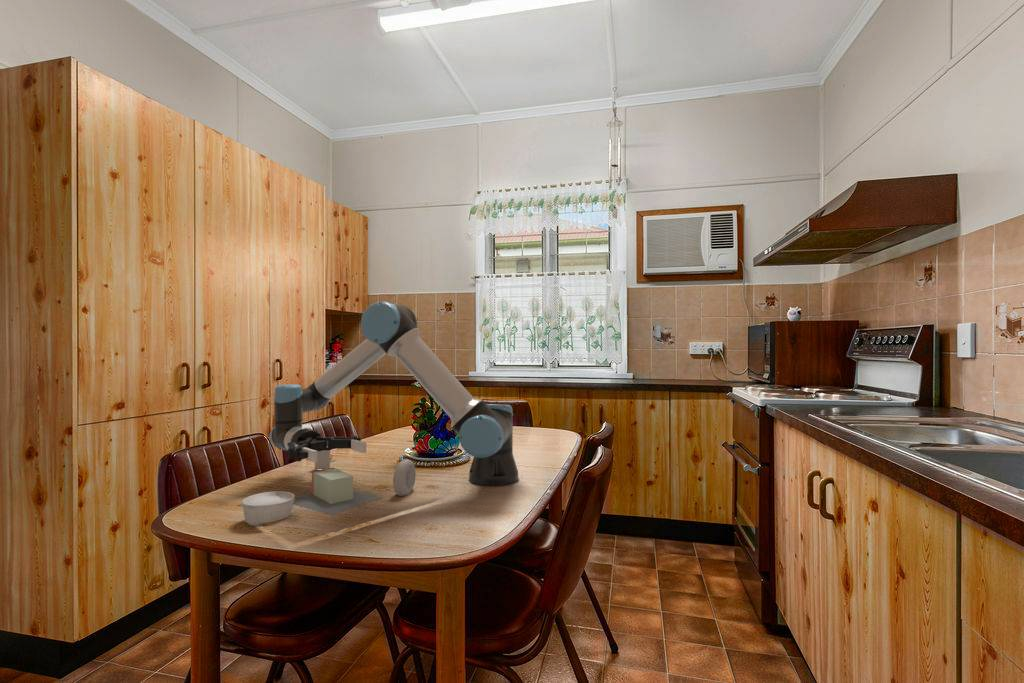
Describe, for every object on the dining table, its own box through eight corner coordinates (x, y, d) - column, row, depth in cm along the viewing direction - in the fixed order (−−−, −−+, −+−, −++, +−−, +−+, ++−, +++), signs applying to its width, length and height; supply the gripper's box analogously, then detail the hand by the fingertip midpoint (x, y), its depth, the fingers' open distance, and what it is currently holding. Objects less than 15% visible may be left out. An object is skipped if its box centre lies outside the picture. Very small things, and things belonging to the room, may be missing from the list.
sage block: (330, 504, 125) (311, 493, 134) (352, 498, 129) (333, 489, 138) (330, 480, 125) (311, 471, 134) (353, 475, 129) (333, 467, 138)
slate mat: (382, 500, 131) (382, 497, 131) (332, 519, 117) (332, 514, 117) (333, 488, 142) (333, 485, 142) (281, 504, 128) (281, 500, 128)
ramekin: (305, 516, 120) (305, 494, 120) (265, 532, 110) (265, 508, 110) (271, 509, 124) (272, 488, 124) (230, 524, 114) (230, 501, 114)
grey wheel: (402, 502, 130) (402, 464, 130) (390, 501, 130) (390, 463, 130) (417, 491, 140) (417, 455, 140) (406, 490, 140) (406, 455, 140)
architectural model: (320, 468, 166) (320, 446, 166) (339, 469, 165) (339, 447, 165) (314, 471, 163) (314, 448, 163) (332, 472, 161) (332, 449, 161)
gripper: (343, 447, 150) (383, 458, 136) (257, 462, 132) (292, 476, 118) (343, 422, 150) (383, 430, 136) (257, 434, 132) (292, 445, 118)
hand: (341, 452), depth 127 cm, fingers open, 13 cm apart
